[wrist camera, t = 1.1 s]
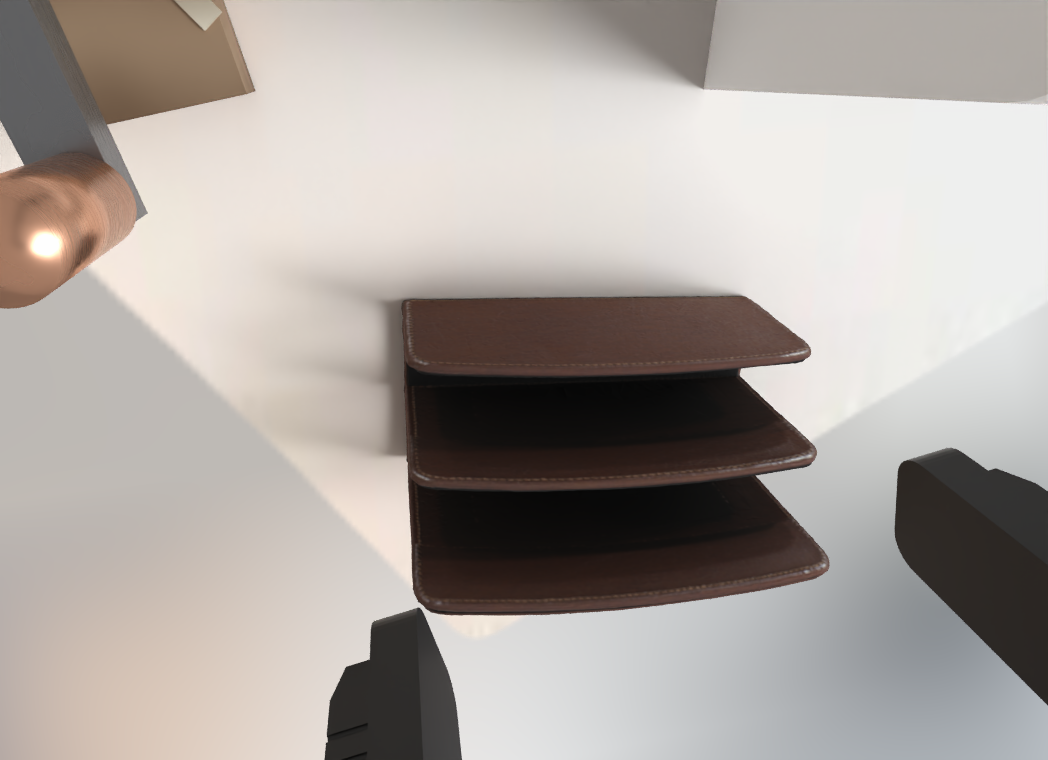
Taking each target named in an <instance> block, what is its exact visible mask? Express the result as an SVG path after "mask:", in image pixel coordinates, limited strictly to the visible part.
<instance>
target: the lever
mask: <svg viewBox="0 0 1048 760" xmlns="http://www.w3.org/2000/svg"><path fill="white" fill-rule="evenodd" d="M0 120H1V122H2V124H3V126H4V128H5V130H6V132H7V134H8V135H9V137H10V139H11V141H12V143H13V145H14V147H15V149H16V150H17V152H18V154H19V156H20V158H21V160H22V162H23V164H24V166H21V167H18V168H15V169H12V170H9V171H6V172H3V173H0V308H20V307H25V306H28V305H31V304H34V303H36V302H38V301H40V300H41V299H43V298H44V297H46V296H47V295H49V294H50V293H51V292H53V291H54V290H55V289H57V288H58V287H60V286H61V285H62V284H64V283H65V282H66V281H68V280H69V279H70V278H72V277H73V276H75V274H77V273H79V272H80V271H81V270H83V269H84V268H86V267H87V266H88V265H90V264H91V263H92V262H94V261H95V260H96V259H98V258H99V257H101V256H102V255H103V254H105V253H106V252H107V251H109V250H110V249H111V248H113V247H114V246H116V245H117V244H118V243H120V242H121V241H122V240H124V239H125V238H126V237H127V236H128V235H129V233H130V232H131V230H132V229H133V227H134V224H135V221H137V220H138V219H140V218H141V217H143V216H144V215H146V214H147V211H146V209H145V206H144V204H143V202H142V200H141V198H140V196H139V193H138V191H137V189H136V187H135V185H134V183H133V180H132V178H131V176H130V174H129V172H128V170H127V167H126V165H125V163H124V161H123V159H122V157H121V154H120V152H119V150H118V148H117V146H116V144H115V141H114V139H113V137H112V135H111V133H110V131H109V129H108V126H107V124H106V122H105V120H104V118H103V116H102V113H101V111H100V109H99V107H98V105H97V103H96V100H95V98H94V96H93V94H92V92H91V90H90V87H89V85H88V83H87V81H86V79H85V77H84V74H83V72H82V70H81V68H80V66H79V64H78V61H77V59H76V57H75V55H74V53H73V51H72V48H71V46H70V44H69V42H68V40H67V38H66V35H65V33H64V31H63V29H62V27H61V25H60V22H59V20H58V18H57V16H56V14H55V12H54V9H53V7H52V5H51V3H50V1H49V0H0Z"/></svg>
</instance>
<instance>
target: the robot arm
mask: <svg viewBox="0 0 1048 760" xmlns="http://www.w3.org/2000/svg"><path fill="white" fill-rule="evenodd" d="M895 538H896V542H897V545H898V548H899V550H900V552H901V554H902V556H903V558H904V559H905V561H906V563H907V564H908V565H909V567H910V568H911V569H912V570H913V571H914V572H915V573H916V574H917V575H918V576H919V577H920V578H921V579H922V580H923V581H924V582H925V583H926V584H927V585H928V586H929V587H930V588H931V589H932V590H933V591H934V592H935V593H936V594H937V595H938V596H939V597H940V598H941V599H942V600H943V601H944V602H945V603H946V604H947V605H948V606H949V607H950V608H951V609H952V610H953V611H954V612H955V613H956V614H957V615H958V616H959V617H960V618H961V619H962V620H963V621H964V622H965V623H966V624H967V625H968V626H969V627H970V628H971V629H972V630H973V631H974V632H975V633H976V634H977V635H978V636H979V637H980V638H981V639H982V640H983V641H984V642H985V643H986V644H987V645H988V646H989V647H990V648H991V649H992V650H993V651H994V652H995V653H996V654H997V655H998V656H999V657H1000V658H1001V659H1002V660H1003V661H1004V662H1005V663H1006V664H1007V665H1008V666H1009V667H1010V668H1011V669H1012V670H1013V671H1014V672H1015V673H1016V674H1017V675H1018V676H1019V677H1020V678H1021V679H1022V680H1023V681H1024V682H1025V683H1026V684H1027V685H1028V686H1029V687H1030V688H1031V689H1032V690H1033V691H1034V692H1035V693H1036V694H1037V695H1038V696H1039V697H1040V698H1041V699H1042V700H1043V701H1044V702H1045V703H1046V704H1047V705H1048V491H1046V490H1045V489H1043V488H1042V487H1040V486H1039V485H1037V484H1036V483H1033V482H1031V481H1028V480H1025V479H1022V478H1020V477H1017V476H1015V475H1012V474H1009V473H1007V472H1004V471H1001V470H999V469H993V470H989V471H988V470H986V469H985V468H984V467H982V466H981V465H979V464H978V463H976V462H975V461H973V460H972V459H971V458H969V457H968V456H966V455H965V454H964V453H962V452H960V451H959V450H956V449H953V448H946V449H942V450H939V451H936V452H933V453H929V454H926V455H923V456H919V457H917V458H913V459H910V460H907V461H904V462H903V463H901V465H900V466H899V469H898V479H897V497H896V515H895ZM370 643H371V644H370V660H367V661H364V662H361V663H358V664H354V665H351V666H348V667H346V668H345V670H344V673H343V675H342V677H341V679H340V681H339V683H338V685H337V687H336V690H335V692H334V694H333V696H332V698H331V700H330V706H329V717H328V728H327V737H328V742H327V743H326V751H325V760H462V756H461V747H460V737H459V727H458V717H457V709H456V702H455V697H454V692H453V688H452V683H451V680H450V676H449V674H448V670H447V668H446V665H445V663H444V661H443V658H442V656H441V654H440V651H439V649H438V647H437V644H436V642H435V639H434V637H433V635H432V632H431V630H430V627H429V625H428V623H427V620H426V618H425V616H424V613H423V612H422V610H421V609H420V608H416V609H413V610H409V611H406V612H403V613H400V614H396V615H393V616H390V617H386V618H383V619H380V620H377V621H374V622H373V623H372V627H371V642H370Z"/></svg>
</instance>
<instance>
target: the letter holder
mask: <svg viewBox="0 0 1048 760" xmlns="http://www.w3.org/2000/svg"><path fill="white" fill-rule="evenodd" d="M402 315H403V322H402V331H403V339H404V376H405V386H404V393H405V410H406V435H407V462H408V484H409V485H408V489H409V509H410V526H411V544H412V578H413V590H414V594H415V596H416V598H417V600H418V602H419V603H421V604H422V605H423V606H424V607H425V608H426V609H427V610H429V611H430V612H432V613H437V614H444V615H550V614H565V613H570V614H571V613H584V612H600V611H615V610H625V609H633V608H642V607H650V606H659V605H665V604H674V603H681V602H689V601H696V600H703V599H712V598H718V597H724V596H729V595H735V594H743V593H749V592H755V591H760V590H766V589H771V588H776V587H781V586H785V585H790V584H794V583H798V582H803V581H807V580H812V579H815V578H817V577H819V576H821V575H822V574H824V573H825V572H826V571H828V569H829V559H828V556H827V555H826V554H825V552H824V551H823V549H822V548H820V546H819V545H818V544H817V543H816V542H815V541H814V539H813V538H812V537H811V536H810V535H809V534H808V533H807V532H806V531H805V530H804V528H803V527H801V526H800V525H799V523H798V522H797V521H796V520H795V519H794V518H793V516H792V515H791V514H790V513H789V512H788V511H787V510H786V509H785V508H784V507H783V506H782V505H781V504H780V502H779V501H778V500H777V499H776V498H775V497H774V496H773V495H772V494H771V493H770V492H769V490H768V489H767V488H766V487H765V486H764V485H763V484H762V482H761V481H760V480H759V479H758V478H757V477H756V475H761V474H767V473H773V472H778V471H785V470H791V469H797V468H804V467H807V466H809V465H811V463H812V462H813V461H814V460H815V458H816V455H817V450H816V448H815V446H814V445H813V444H812V443H811V442H810V441H809V440H808V439H807V438H806V437H805V436H803V435H802V434H801V433H800V432H799V431H798V430H797V429H796V428H795V427H794V426H793V425H792V424H790V423H789V422H788V421H787V420H786V419H785V418H784V417H783V416H782V415H780V414H779V413H778V412H777V411H776V410H774V408H773V407H772V406H771V405H770V404H769V403H768V402H766V401H765V400H764V399H763V398H762V397H761V396H760V395H759V394H758V393H757V392H756V391H755V390H754V389H752V388H751V387H750V385H749V384H748V383H747V382H745V381H744V380H743V379H742V378H741V377H740V375H739V374H740V370H741V368H748V367H757V366H770V365H780V364H791V363H798V362H803V361H804V360H805V359H806V358H808V357H809V356H810V355H811V349H810V347H809V345H808V344H807V343H805V341H804V340H803V339H801V338H800V337H798V336H797V335H796V334H795V333H793V332H792V331H790V330H789V329H788V328H787V327H785V326H784V325H783V324H782V323H780V322H779V321H778V320H776V319H775V318H774V317H773V316H772V315H770V314H769V313H768V312H767V311H765V310H764V309H763V308H761V307H760V306H759V305H758V304H756V303H754V302H753V301H752V300H750V299H748V298H747V297H743V296H740V297H662V298H661V297H646V298H643V297H642V298H639V297H634V298H534V299H527V298H525V299H520V298H511V299H458V300H408V301H403V303H402Z"/></svg>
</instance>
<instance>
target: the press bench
mask: <svg viewBox="0 0 1048 760" xmlns="http://www.w3.org/2000/svg"><path fill="white" fill-rule="evenodd" d="M49 1H50V3H51V5H52V7H53V9H54V12H55V14H56V16H57V18H58V20H59V22H60V25H61V27H62V29H63V31H64V33H65V35H66V38H67V40H68V42H69V44H70V46H71V48H72V51H73V53H74V55H75V57H76V59H77V61H78V64H79V66H80V68H81V70H82V72H83V74H84V77H85V79H86V81H87V83H88V85H89V87H90V90H91V92H92V94H93V96H94V98H95V100H96V103H97V105H98V107H99V109H100V111H101V113H102V116H103V118H104V120H105V122H106V124H112V123H116V122H121V121H125V120H130V119H134V118H139V117H144V116H148V115H153V114H157V113H162V112H166V111H171V110H176V109H180V108H185V107H189V106H194V105H198V104H203V103H208V102H212V101H217V100H221V99H226V98H230V97H235V96H239V95H244V94H248V93H251V92H254V91H255V89H254V86H253V83H252V80H251V77H250V75H249V72H248V69H247V66H246V63H245V61H244V58H243V55H242V52H241V49H240V46H239V44H238V41H237V38H236V35H235V32H234V29H233V27H232V24H231V21H230V18H229V15H228V12H227V10H226V7H225V4H224V1H223V0H49Z"/></svg>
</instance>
